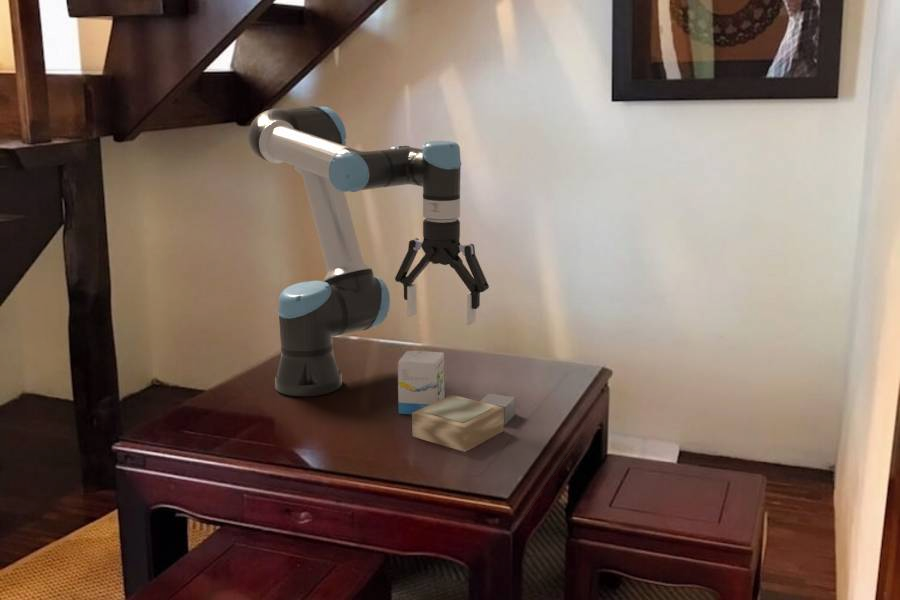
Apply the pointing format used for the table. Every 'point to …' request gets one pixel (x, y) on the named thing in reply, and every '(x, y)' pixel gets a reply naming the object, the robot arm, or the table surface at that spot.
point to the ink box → (420, 380)
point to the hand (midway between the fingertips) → (441, 319)
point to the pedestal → (458, 422)
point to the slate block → (502, 404)
